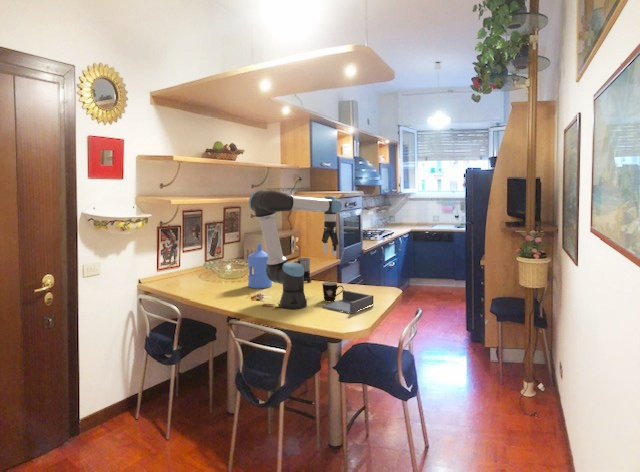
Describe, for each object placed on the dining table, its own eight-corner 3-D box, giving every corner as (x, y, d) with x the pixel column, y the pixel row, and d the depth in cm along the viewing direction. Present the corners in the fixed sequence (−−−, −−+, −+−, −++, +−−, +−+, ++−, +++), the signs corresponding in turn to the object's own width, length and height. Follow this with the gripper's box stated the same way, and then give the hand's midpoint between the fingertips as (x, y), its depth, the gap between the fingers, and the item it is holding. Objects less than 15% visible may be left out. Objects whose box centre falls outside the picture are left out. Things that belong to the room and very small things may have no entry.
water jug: (274, 283, 291) (273, 243, 288) (269, 289, 276) (268, 246, 273) (251, 283, 293) (251, 243, 290) (245, 288, 277) (244, 246, 274)
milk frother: (303, 277, 315) (303, 257, 313) (320, 279, 305) (320, 259, 303) (290, 280, 304) (290, 259, 302) (306, 283, 294) (306, 262, 292)
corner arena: (352, 314, 220) (352, 302, 219) (322, 307, 233) (322, 296, 232) (373, 306, 235) (373, 295, 235) (344, 300, 248) (344, 290, 247)
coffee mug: (319, 301, 246) (319, 284, 245) (326, 297, 254) (326, 281, 253) (337, 303, 241) (337, 286, 240) (344, 300, 248) (344, 283, 247)
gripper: (344, 222, 257) (343, 256, 259) (327, 219, 280) (327, 251, 282) (333, 222, 254) (332, 257, 256) (317, 219, 277) (316, 252, 279)
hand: (329, 254), depth 269 cm, fingers open, 13 cm apart
